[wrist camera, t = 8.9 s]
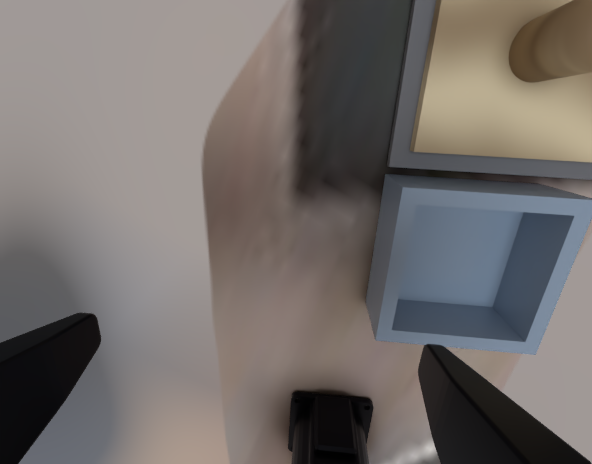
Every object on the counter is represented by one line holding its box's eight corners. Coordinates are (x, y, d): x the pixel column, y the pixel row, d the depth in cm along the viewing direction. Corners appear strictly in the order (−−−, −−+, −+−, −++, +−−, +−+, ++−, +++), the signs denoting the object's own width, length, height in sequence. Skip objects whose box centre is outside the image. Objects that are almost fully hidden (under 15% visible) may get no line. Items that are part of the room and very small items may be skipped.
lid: (594, 161, 17) (696, 176, 12) (409, 150, 17) (442, 160, 13) (684, -73, 13) (874, -173, 9) (450, -79, 14) (515, -177, 9)
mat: (596, 178, 17) (605, 180, 17) (386, 165, 18) (388, 166, 17) (704, -93, 13) (721, -103, 13) (428, -100, 14) (432, -109, 13)
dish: (496, 313, 21) (535, 354, 17) (365, 301, 21) (375, 340, 18) (539, 183, 18) (599, 200, 14) (385, 173, 18) (402, 187, 14)
